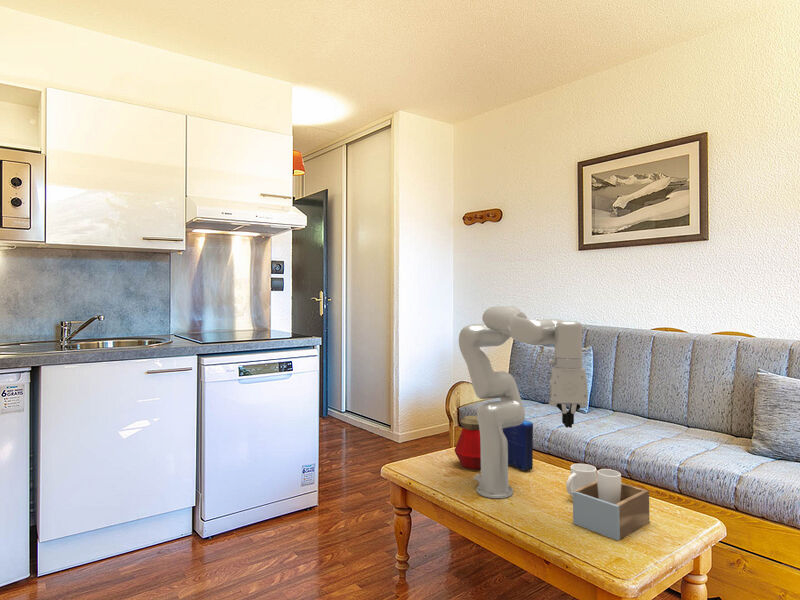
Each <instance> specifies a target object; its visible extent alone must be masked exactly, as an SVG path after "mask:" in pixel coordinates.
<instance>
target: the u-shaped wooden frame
mask: <svg viewBox="0 0 800 600" xmlns="http://www.w3.org/2000/svg"><path fill="white" fill-rule="evenodd" d="M574 491H576V492H579V493H582V494H585V495H588V496H591V497H594V498H597V499H598V489H597V481H595V482H593V483H590V484H588V485H585V486H583V487H580V488H578V489H576V490H574ZM616 505H619V510H620V540H622V539H623V538H625V537H627V536H628V535H630V534H632V533H634V532H636V531H637V530H639V529H640V528H643V527H645V526H646V525H647V524H649V523H650V490H648V489H644V488H641V487H637V486H635V485H631V484H627V483H624V482H621V499H620V502H619V503H617V504H616Z"/></svg>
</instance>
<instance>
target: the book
mask: <svg viewBox="0 0 800 600" xmlns="http://www.w3.org/2000/svg"><path fill="white" fill-rule="evenodd" d="M502 431H503V433H504V435H505V436H506V438H507V442H508V466H510V467H512V468H514V469H517V470H520V471H524V472H527V471H531V470H533V469H534V467H533V465H534V464H533V461H534V460H533V459H534V457H533V456H534V443H533V442H534V439H533V438H534V437H533V436H534V423H533V422H532V421H531V420H527V419H524V421H523V423H522V424H521V425H518V426H514V427H508V428H503V429H502Z"/></svg>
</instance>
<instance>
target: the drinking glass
mask: <svg viewBox="0 0 800 600" xmlns="http://www.w3.org/2000/svg"><path fill="white" fill-rule="evenodd" d="M596 472H597V489H598V499H600V500H603V501H606V502H609V503H612V504H617V503H619V502H620V499H621V483H622V474H621V472H620V471H617V470H615V469H611V468H601V469H598V470H596Z"/></svg>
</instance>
